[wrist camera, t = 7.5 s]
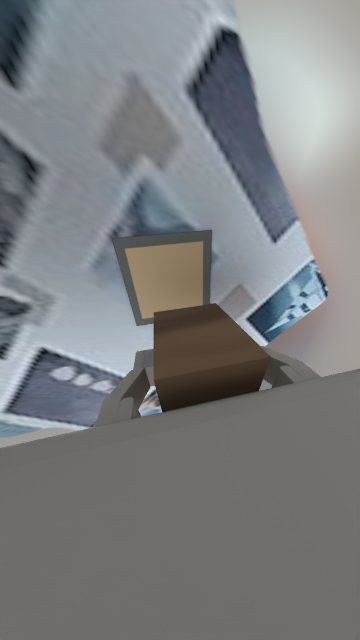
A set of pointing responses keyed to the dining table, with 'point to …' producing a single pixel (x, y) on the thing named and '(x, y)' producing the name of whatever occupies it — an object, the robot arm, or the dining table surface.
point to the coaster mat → (165, 271)
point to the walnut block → (203, 357)
